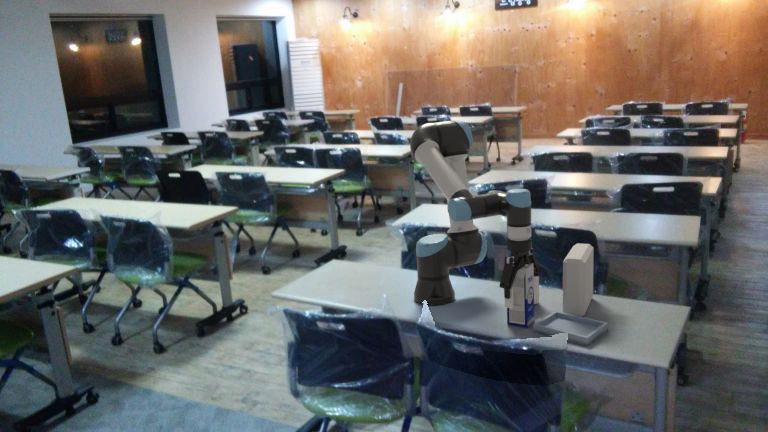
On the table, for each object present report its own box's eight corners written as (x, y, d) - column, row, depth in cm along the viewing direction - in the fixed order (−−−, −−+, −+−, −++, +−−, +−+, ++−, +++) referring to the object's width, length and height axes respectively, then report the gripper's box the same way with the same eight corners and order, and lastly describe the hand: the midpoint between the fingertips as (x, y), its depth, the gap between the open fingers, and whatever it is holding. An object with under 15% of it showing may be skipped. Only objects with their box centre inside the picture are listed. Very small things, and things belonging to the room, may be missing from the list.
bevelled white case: (570, 295, 225) (570, 242, 221) (593, 297, 221) (594, 243, 217) (558, 316, 207) (558, 258, 202) (584, 319, 203) (584, 260, 199)
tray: (533, 331, 196) (533, 324, 195) (555, 317, 206) (555, 310, 205) (587, 345, 184) (587, 338, 183) (608, 330, 193) (608, 322, 193)
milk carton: (527, 328, 199) (526, 268, 194) (507, 325, 202) (505, 266, 198) (534, 320, 205) (533, 262, 200) (514, 317, 208) (513, 260, 204)
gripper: (507, 248, 186) (509, 315, 190) (549, 230, 203) (550, 292, 208) (486, 245, 191) (489, 310, 196) (529, 228, 208) (530, 288, 213)
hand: (520, 301), depth 202 cm, fingers open, 13 cm apart
